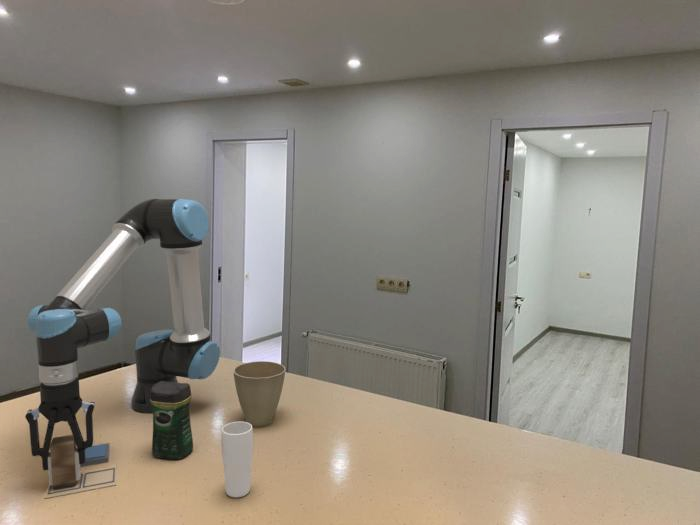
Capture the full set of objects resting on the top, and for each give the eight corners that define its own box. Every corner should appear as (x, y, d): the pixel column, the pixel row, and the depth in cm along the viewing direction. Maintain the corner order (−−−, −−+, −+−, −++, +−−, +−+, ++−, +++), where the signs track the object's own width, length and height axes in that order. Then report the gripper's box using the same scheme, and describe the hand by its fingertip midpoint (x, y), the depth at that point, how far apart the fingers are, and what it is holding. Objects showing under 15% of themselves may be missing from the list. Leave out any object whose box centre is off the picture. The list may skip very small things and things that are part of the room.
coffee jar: (198, 447, 133) (196, 379, 130) (181, 462, 125) (179, 390, 123) (165, 443, 135) (163, 375, 133) (146, 457, 127) (144, 386, 125)
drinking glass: (225, 484, 116) (223, 421, 114) (255, 483, 116) (254, 420, 115) (220, 501, 109) (218, 435, 107) (251, 500, 110) (251, 434, 108)
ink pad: (109, 447, 132) (109, 442, 132) (108, 462, 125) (108, 456, 125) (65, 454, 128) (65, 449, 128) (62, 470, 121) (61, 464, 121)
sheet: (117, 466, 123) (116, 464, 123) (116, 485, 115) (116, 483, 115) (50, 478, 117) (50, 476, 117) (44, 499, 109) (44, 497, 109)
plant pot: (240, 436, 139) (239, 380, 137) (229, 415, 153) (228, 364, 151) (292, 427, 145) (292, 373, 143) (277, 408, 159) (277, 358, 157)
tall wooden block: (77, 475, 118) (75, 434, 116) (75, 485, 114) (73, 442, 112) (55, 479, 116) (52, 437, 115) (52, 489, 112) (50, 446, 111)
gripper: (8, 391, 105) (16, 497, 108) (102, 380, 112) (107, 480, 115) (16, 379, 112) (23, 479, 115) (104, 370, 119) (109, 464, 122)
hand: (65, 479), depth 115 cm, fingers closed on tall wooden block, 4 cm apart
